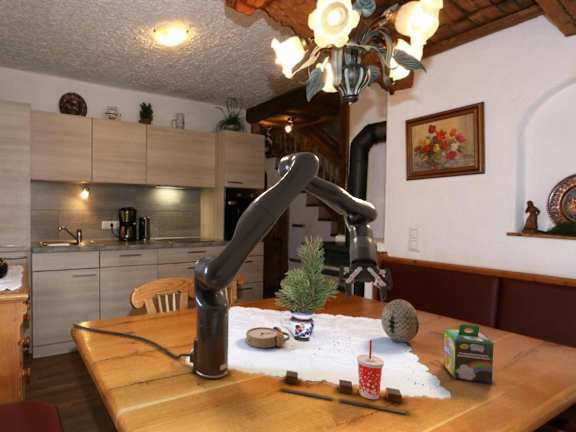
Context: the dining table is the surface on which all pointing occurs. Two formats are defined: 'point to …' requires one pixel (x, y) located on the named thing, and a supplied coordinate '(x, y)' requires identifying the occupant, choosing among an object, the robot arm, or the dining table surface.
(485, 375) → the chalk box
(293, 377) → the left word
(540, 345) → the dining table surface
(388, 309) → the decorative egg
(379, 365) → the beverage cup
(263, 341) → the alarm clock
